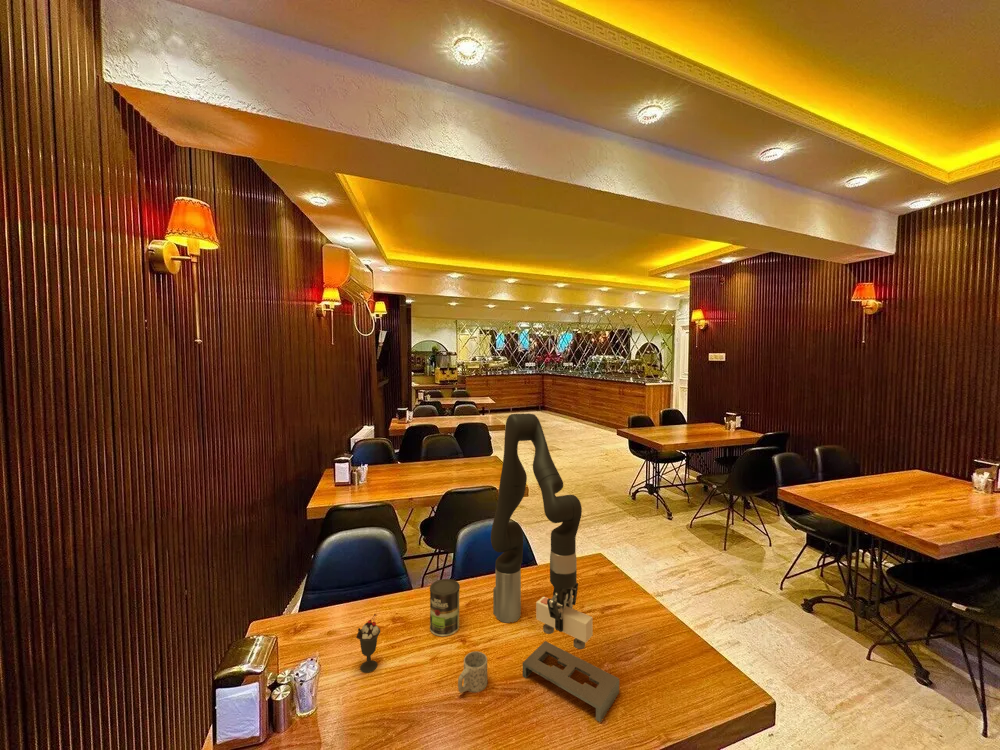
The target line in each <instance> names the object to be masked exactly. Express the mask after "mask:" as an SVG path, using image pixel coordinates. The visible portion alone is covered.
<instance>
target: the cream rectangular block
mask: <svg viewBox="0 0 1000 750" xmlns="http://www.w3.org/2000/svg"><path fill="white" fill-rule="evenodd" d="M548 599H550V598H548V597H545V596H542V597H541V598H540V599H538V600H537V601H536V602H535V603H536V604H535V606H536V607H535V615H536V616H535V617H536V619H535V620H537V621H539V622H541V623H543V626H542V631H543V632H544V633H545V634H547V635H551V634H553V633H555V619H554V618H552V617H550V613H549V609H548V604H547V600H548ZM557 604H558V603H557ZM558 605H561V604H558ZM561 606H562V605H561ZM558 610H559V609H558ZM559 613H560V610H559ZM593 621H594V620H593V616H591V615H588V614H586V613H583V612H582V611H579V610H577V609H575V608H573V609H572V608H570V607H568V606H566V609H565V610H564V613H563V631H562V632H561V633H565V634H566V635H568V636H571V637H573V638H574V639H573V647H574V648H575V649H576V650H584V649H586V643H588V641H589V640H590V639H591V638H592V637H593V632H594V630H593V627H594V626H593Z"/></svg>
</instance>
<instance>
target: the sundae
mask: <svg viewBox="0 0 1000 750" xmlns="http://www.w3.org/2000/svg"><path fill="white" fill-rule="evenodd" d="M376 616H377V614H376V613H374V614H373V616H372V618H370V620H368V621H367V622H366V623H364V624H363V626H362V627H361V628H360V627H358V628H357V631H358V632H357V634H356V639H357V640H359V643H360V650H361V654H362V655H363V656H364V657H366V660H365V661H364V662H362V664H361V665H360V667H359V670H360V671H361V672H362V673H364V674H366V673H367V674H368V673H371V672H373V671H375V670H377V667H378V662H377V661H376V660H374V659H373V660H372V655H373V654H374V653H375V652H376V650H377V645H378V644H377V643H378V637H379V635H380V634H381V629H380V628H379V626H378V625H377V623H376V621H372V620H374V619H375V617H376Z"/></svg>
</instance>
